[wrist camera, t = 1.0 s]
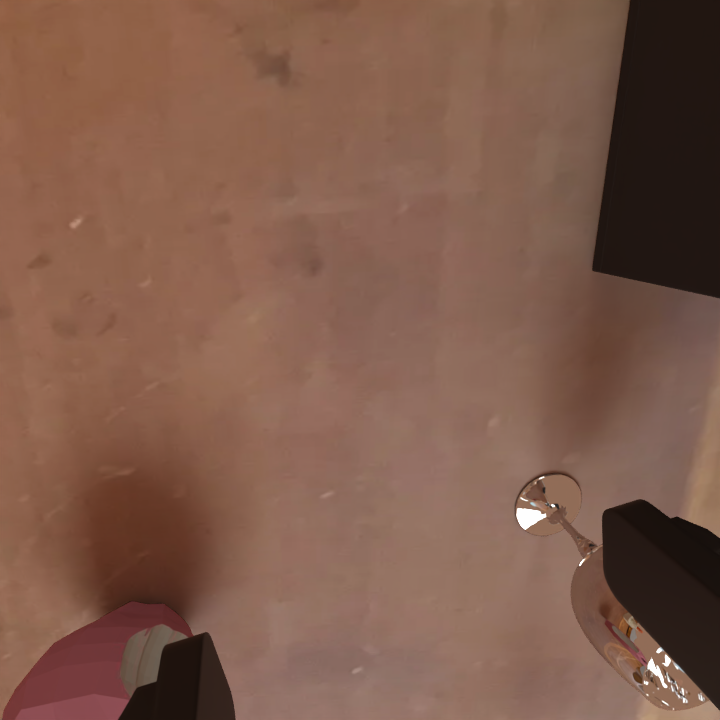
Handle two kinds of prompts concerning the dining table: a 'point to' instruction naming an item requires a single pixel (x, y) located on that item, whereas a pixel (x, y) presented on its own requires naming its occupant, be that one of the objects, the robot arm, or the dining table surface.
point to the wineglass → (604, 600)
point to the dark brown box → (665, 151)
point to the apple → (98, 666)
